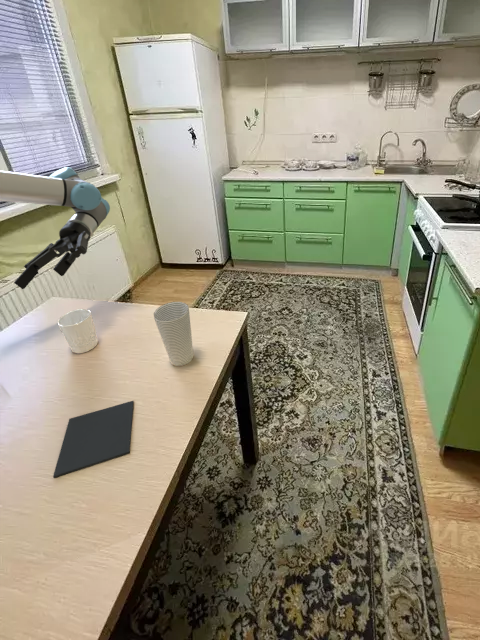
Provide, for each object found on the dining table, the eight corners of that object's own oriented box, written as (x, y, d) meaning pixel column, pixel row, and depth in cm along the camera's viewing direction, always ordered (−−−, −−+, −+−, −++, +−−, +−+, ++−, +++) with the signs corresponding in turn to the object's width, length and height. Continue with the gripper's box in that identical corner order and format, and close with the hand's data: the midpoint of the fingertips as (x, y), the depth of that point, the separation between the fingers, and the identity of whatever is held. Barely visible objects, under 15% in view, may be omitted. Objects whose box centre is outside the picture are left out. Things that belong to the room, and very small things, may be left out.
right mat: (53, 478, 60) (52, 476, 60) (69, 420, 71) (69, 418, 71) (129, 453, 64) (129, 451, 64) (133, 401, 75) (133, 400, 75)
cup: (175, 345, 92) (165, 300, 85) (203, 349, 90) (194, 302, 83) (159, 367, 84) (146, 319, 78) (189, 372, 83) (178, 323, 76)
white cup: (92, 333, 98) (82, 305, 94) (105, 343, 94) (95, 314, 90) (64, 348, 92) (52, 319, 88) (77, 359, 88) (65, 329, 84)
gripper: (119, 228, 100) (86, 276, 84) (57, 250, 106) (15, 299, 89) (101, 208, 95) (63, 256, 79) (38, 233, 101) (-10, 281, 85)
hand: (38, 279), depth 84 cm, fingers open, 13 cm apart
